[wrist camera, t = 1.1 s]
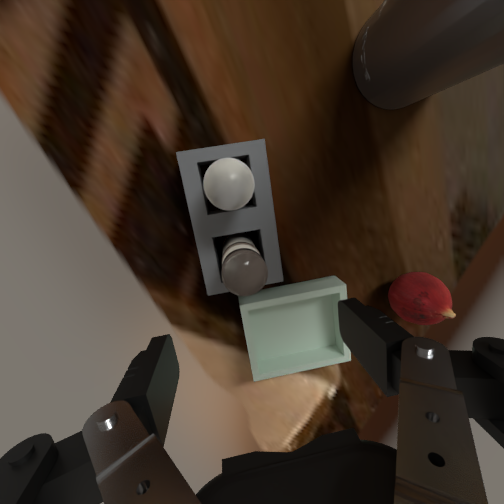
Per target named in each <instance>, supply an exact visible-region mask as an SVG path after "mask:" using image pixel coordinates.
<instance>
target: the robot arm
mask: <svg viewBox="0 0 504 504" xmlns="http://www.w3.org/2000/svg"><path fill="white" fill-rule="evenodd" d="M502 64H504V0H385V1H384V2H383V3H382V4H381V6H380V7H379V8H378V9H377V10H376V11H375V12H374V14H373V15H372V16H371V17H370V18H369V19H368V21H367V22H366V23H365V25H364V26H363V28H362V29H361V31H360V33H359V35H358V38H357V40H356V42H355V47H354V52H353V72H354V77H355V80H356V83H357V86H358V88H359V90H360V91H361V93H362V95H363V96H364V97H365V98H366V99H367V100H368V101H369V102H371V103H372V104H374V105H375V106H377V107H380V108H383V109H391V110H393V109H399V108H403V107H405V106H408V105H410V104H412V103H415V102H417V101H419V100H422V99H424V98H426V97H429V96H431V95H433V94H436V93H438V92H440V91H443V90H445V89H447V88H449V87H452V86H454V85H456V84H458V83H461V82H463V81H465V80H467V79H470V78H472V77H474V76H477V75H479V74H481V73H483V72H486V71H488V70H490V69H492V68H495V67H497V66H499V65H502ZM338 317H339V330H340V335H341V338H342V340H343V342H344V343H345V344H346V346H347V347H348V348H349V350H350V351H351V352H352V353H353V355H354V356H355V357H356V358H357V360H358V361H359V362H360V363H361V365H362V366H363V367H364V368H365V370H366V371H367V372H368V373H369V375H370V376H371V377H372V378H373V380H374V381H375V382H376V383H377V385H378V386H379V387H380V388H381V390H382V391H383V392H384V394H385V395H386V396H387V397H389V396H393V395H398V394H399V410H398V433H397V434H398V435H397V450H396V449H394V448H392V447H390V446H387V445H384V444H382V443H378V442H374V441H367V440H360V439H359V437H358V435H357V433H356V431H355V430H354V428H351V429H347V430H343V431H338V432H334V433H330V434H326V435H322V436H320V437H318V438H317V439H315V440H313V441H311V442H310V443H308V444H306V445H304V446H302V447H301V448H299V449H297V450H295V451H293V452H258V451H255V452H251V453H247V454H243V455H238V456H234V457H230V458H226V459H222V473H221V474H219V475H218V476H216V477H215V478H214V479H212V480H211V481H209V482H208V483H207V484H206V485H205V486H204V487H203V488H201V490H199V492H198V493H197V494H196V495H195V493H194V492H193V491H192V489H191V488H190V486H189V485H188V483H187V482H186V480H185V479H184V477H183V476H182V474H181V473H180V471H179V470H178V468H177V467H176V466H175V464H174V463H173V461H172V460H171V458H170V457H169V455H168V454H167V452H166V451H165V449H164V448H163V447H164V442H165V438H166V433H167V429H168V424H169V420H170V416H171V411H172V407H173V402H174V397H175V393H176V389H177V384H178V379H179V363H178V360H177V356H176V352H175V349H174V345H173V341H172V338H171V336H170V334H168V335H163V336H158V337H153V338H152V339H151V341H150V343H149V345H148V347H147V350H145V351H141V352H140V353H139V354H138V355H137V356H136V357H135V358H134V359H133V360H132V362H131V364H130V365H129V367H128V370H127V371H126V373H125V375H124V378H123V379H122V381H121V383H120V385H119V387H118V389H117V391H116V392H115V394H114V396H113V398H112V400H111V402H110V403H109V404H107V405H105V406H103V407H101V408H100V409H98V410H97V411H96V412H94V413H93V414H92V415H91V416H90V418H88V420H87V421H86V423H85V424H84V427H83V429H82V431H80V432H78V433H76V434H74V435H72V436H70V437H68V438H65V439H63V440H61V441H59V442H57V443H54V441H53V439H52V437H51V436H50V435H49V434H46V433H45V434H38V435H34V436H32V437H30V438H27V439H26V440H24V441H22V442H20V443H19V444H17V445H16V446H14V447H13V448H12V449H10V450H9V451H8V452H7V453H6V454H5V455H4V456H3V457H2V458H1V459H0V504H100V503H102V502H104V504H488V500H487V496H486V492H485V487H484V483H483V479H482V474H481V470H480V466H479V461H478V457H477V453H476V448H475V444H474V440H473V435H472V431H471V427H470V422H469V418H473V419H475V421H476V422H477V423H478V424H479V425H480V426H481V427H482V428H483V429H484V430H486V432H488V433H489V434H490V435H491V436H492V437H493V438H494V439H495V440H496V441H497V442H498V443H499V444H500V445H501V446H502V447H503V448H504V339H500V338H493V337H481V338H477V339H475V340H474V341H473V348H472V351H458V350H457V351H456V350H448V349H447V348H446V347H445V346H444V345H443V344H441V343H439V342H437V341H435V340H432V339H429V338H424V337H414V336H412V335H411V334H410V333H409V332H407V331H406V330H405V329H403V328H402V327H401V326H399V325H398V324H397V323H396V322H393V320H392V319H390V318H389V317H387V316H386V315H385V314H384V313H383V312H381V311H380V310H378V309H376V308H373V307H371V306H365V305H363V304H362V303H361V302H360V301H358V300H357V299H356V298H350V299H345V300H340V301H338Z"/></svg>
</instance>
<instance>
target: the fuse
mask: <svg viewBox="0 0 504 504" xmlns="http://www.w3.org/2000/svg"><path fill="white" fill-rule="evenodd" d="M203 186H204V191H205V194H206V196H207V198H208V199H209V201H210V202H211V203H212V204H213V205H214V206H216V207H218V208H220V209H223V210H230V211H231V210H237V209H239V208H241V207H243V206H244V205H246V204H247V203H248V202H249V200H250V199H251V197H252V195H253V192H254V187H255V183H254V177H253V174H252V172H251V170H250V169H249V167H248V166H247V165H246V164H245V163H243V162H242V161H240V160H238V159H235V158H222V159H219V160H217V161H215V162H214V163H212V164H211V165H210V166H209V168H208V169H207V171H206V173H205V176H204V181H203Z"/></svg>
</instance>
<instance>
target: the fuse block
mask: <svg viewBox="0 0 504 504" xmlns="http://www.w3.org/2000/svg"><path fill="white" fill-rule="evenodd" d="M176 154H177V159H178V163H179V168H180V172H181V177H182V181H183V186H184V190H185V195H186V199H187V204H188V208H189V213H190V217H191V222H192V227H193V231H194V236H195V240H196V245H197V249H198V254H199V258H200V263H201V267H202V272H203V276H204V281H205V285H206V290H207V294H208V296H210V295H215V294H220V293H225V292H230V291H229V290H228V289H227V288H226V287H225V285H224V283H223V281H222V272H221V267H220V262H219V257H218V253H217V248H216V243H215V238H214V237H218V236H224V235H230V234H235V233H241V232H247V231H252V230H257V235H258V241H259V248H260V254H261V257H262V258H263V260H264V262H265V264H266V266H267V269H268V278H267V281H266V283H265V285H267V284H272V283H277V282H283V274H282V266H281V259H280V251H279V244H278V236H277V229H276V221H275V214H274V207H273V199H272V192H271V184H270V177H269V169H268V162H267V154H266V147H265V139H260V140H253V141H247V142H240V143H234V144H227V145H221V146H214V147H208V148H201V149H194V150H188V151H181V152H176ZM222 158H235V159H238V160H239V159H246V164H247V166H248V167H249V169H250V170H251V172H252V174H253V177H254V183H255V187H254V192H253V195H252V202H253V204H252V205H247V206H243V207H241V208H239V209H237V210H231V211H230V210H217V211H211V212H209V208H208V203H207V198H206V194H205V191H204V186H203V178H202V173H201V168H200V166H201V165H207V164H212V163H214V162H215V161H217V160H219V159H222Z"/></svg>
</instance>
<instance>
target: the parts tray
mask: <svg viewBox="0 0 504 504" xmlns="http://www.w3.org/2000/svg"><path fill="white" fill-rule="evenodd" d="M238 298H239V305H240V311H241V316H242V321H243V326H244V332H245V337H246V342H247V348H248V353H249V358H250V364H251V369H252V374H253V380H254V382H255V381H259V380H264V379H268V378H273V377H278V376H282V375H287V374H291V373H296V372H301V371H305V370H310V369H314V368H319V367H323V366H328V365H333V364H337V363H342V362H346V361H351V351H350V350H349V348H348V347H347V346H346V344H345V343H344V342H343V340H342V338H341V335H340V330H339V317H338V301H340V300H345V299H347V289H346V284H345V283H344V282H342V281H341V280H340V279H339V278H337V277H336V276H330V277H324V278H319V279H314V280H309V281H304V282H298V283H293V284H288V285H283V286H278V287H273V288H267V289H262V290H260V291H258V292H257V293H255V294H253V295H250V296H238Z"/></svg>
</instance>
